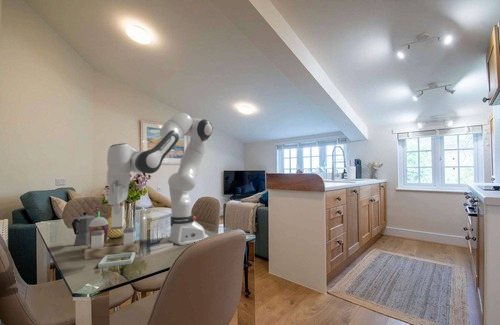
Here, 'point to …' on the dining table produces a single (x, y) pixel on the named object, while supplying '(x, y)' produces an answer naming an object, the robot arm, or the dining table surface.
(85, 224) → the coffeepot
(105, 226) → the smoothie
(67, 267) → the dining table surface
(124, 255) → the tray
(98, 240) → the block
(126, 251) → the socket strip
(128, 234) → the block
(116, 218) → the block
